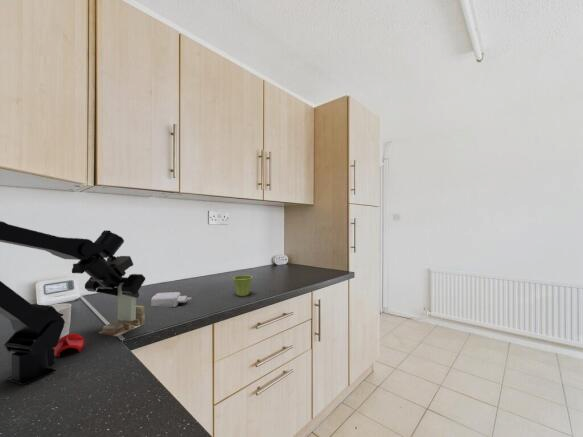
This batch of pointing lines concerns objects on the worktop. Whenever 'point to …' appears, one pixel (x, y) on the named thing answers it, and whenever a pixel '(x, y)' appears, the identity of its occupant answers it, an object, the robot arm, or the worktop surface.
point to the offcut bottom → (113, 331)
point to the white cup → (64, 316)
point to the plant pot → (242, 284)
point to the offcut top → (113, 326)
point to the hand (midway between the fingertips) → (130, 296)
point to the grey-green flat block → (126, 306)
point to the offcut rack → (135, 323)
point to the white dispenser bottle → (168, 299)
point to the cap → (69, 343)
